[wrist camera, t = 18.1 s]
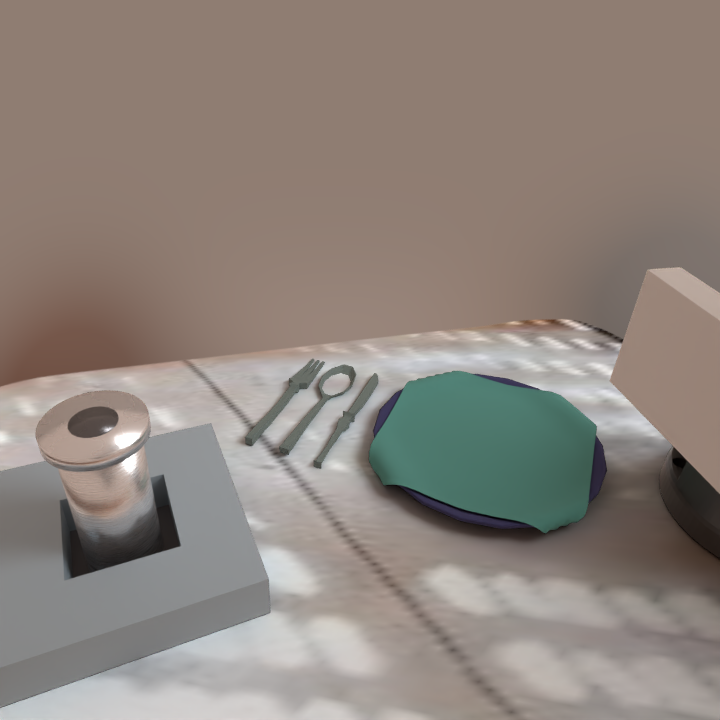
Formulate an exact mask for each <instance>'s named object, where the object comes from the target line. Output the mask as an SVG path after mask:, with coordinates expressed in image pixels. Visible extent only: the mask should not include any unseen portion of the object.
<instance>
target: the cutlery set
mask: <svg viewBox="0 0 720 720" xmlns="http://www.w3.org/2000/svg"><path fill="white" fill-rule="evenodd" d="M313 362H314V359H312V360H311V361H310V362H309V363H308V364H307V365H306V366H305V367H304V368H303V369H301V370H300V371H299V372H298V373H297V374H296V375H294V376H293V377H292V378H289V389H288V390H287V391H286V392H285V394H284V395H283V396H282V398H281V399H280V400H279V402H278V403H277V404H276V405H275V406H274V407H273V408H272V409H271V411H270V412H269V413H268V414H267V415H266V416H265V417H264V418H263V419H262V420H261V421H260V422H259V423H258V424H257V425H256V426H255V427H254V428H253V429H252V430H251V431H250V432H249V433H248V435H247V436H246V437H245V440H246V444H248V445H252V446H253V444H254V443H255V442H256V440H257V439H258V438H259V437H260V435H261V434H262V433H263V432H264V430H265V429H266V428H267V427H268V426H269V425H270V424H271V423H272V422H273V421H274V419H275V418H276V417H277V416H278V415H279V413H280V412H281V411H282V410H283V409H284V407H285V406H286V405H287V403H288V402H289V400H290V399H291V398H292V396H293V395H294V394H295V392H296V393H298V392H299V389H307V388H308V387H309V385H310V383H311V382H312V381H313V380H314V378H315V377H316V375H317V374H318V372H319V371H320V369H321V368H322V366H323V365H324V363H325V362H322V363H321V364H320V365H319V366H318V367H317V368H316V369H315V367H316V366H317V365H318V363H319V360H317V361H316V362H315V364H314V365H313V366H312V367H311V368H310V369H309V367H310V366H311V364H312V363H313ZM314 369H315V370H314ZM313 370H314V371H313ZM339 373H343V374H346V375H348V376H349V378H350V380H351V383H350V386H349V387H348V388H347V389H346V390H345V391H344V392H341V393H338V394H335V395H332V396H330V395H326V394H324V392H323V390H322V386H323V383H324V381H325V380H327V379H328V378H329V377H330V376H332V375H335V374H339ZM355 376H356V373H355V371H354V368H353V367H352V366H347V365H341V366H338V367H335V368H332V369H331V370H329V371H328V372H327V373H326V374H324V375H323V376H322V378H321V380H320V383H319V385H318V386H319V389H320V391H321V394H322V399H321V400H320V401H319V402H318V403H317V405H316V406H315V407H314V408H313V409H312V410H311V411H310V412H309V413H308V414H307V415H306V416H305V417H304V419H303V420H302V421H301V422H300V423H299V425H298V426H297V427H296V428H295V429H294V431H293V432H292V433H291V434H290V435H289V436H288V438H287V439H286V440H285V441H284V443H283V444H282V445H281V446H280V447H279V448H280V452H281V453H284V454H287V455H289V452H290V451H291V450H292V448H293V447H294V445H295V444H296V442H297V441H298V439H299V438H300V436H301V435H302V434H303V432H304V431H305V429H306V428H307V426H308V425H309V423H310V422H311V421H312V419H313V418H314V417H315V416H316V414H317V413H318V412H319V410H320V409H321V407H322V406H323V405H324V404H325V402H326V401H327V400H329V399H331V398H332V397H336V396H339V395H342V394H344V393H345V392H346V391H347V390H349V389H350V388H351V387H352V385H353V382H354V379H355ZM377 384H378V376H377V374H376V373H374V375H373V376H372V378H371V379H370V381H369V382H368V384H367V385H366V387H365V388H364V390H363V391H362V393H361V394H360V396H359V397H358V398H357V400H356V401H355V403H354V404H353V406H352V407H351V409H350V410H349V412H345V411H343V418H341V419H339V421H338V425H337V429H336V431H335V432H334V434H333V435H332V437H331V439H330V441H329V443H328V444H327V446H326V448H325V449H324V450H323V452H322V453H321V454H320V456H319V457H318V458H317V460H314V467H317V468H320V469H321V464H322V462H323V460H324V458H325V457H326V455H327V453H328V452H329V450H330V448H331V447H332V446H333V444H334V443H335V442H336V440H337V439H338V437H339V436H340V434H341V433H342V432H343V431H345V430H346V429H348V428H349V423H350V422H354V419H355V415H356V414H357V413H358V412H359V410H360V409H361V408H362V407H363V406H364V405H365V403H366V402H367V400H368V399H369V397H370V396H371V394H372V393H373V391H374V389H375V388H376V386H377ZM596 430H597V426H596V425H595V424H594V423H593V422H592V421H591V420H589V419H588V418H587V417H586V416H585V415H584V414H583V413H581V412H580V411H579V410H578V409H577V408H576V407H574V406H573V405H572V404H571V403H570V402H568V401H567V400H566V399H564V398H563V397H562V396H561V395H558V394H556V393H553V392H549V391H542V390H540V389H538V388H535V387H531V386H528V385H525V384H522V383H519V382H516V381H513V380H510V379H507V378H500V377H493V376H487V375H480V374H470V373H467V372H462V371H452V372H447V373H443V374H437V375H435V376H429V377H426V378H421V379H417V380H415V381H409V382H408V383H407V384H406V385H405V387H404V389H402V390H400V391H398V392H396V393H395V394H394V395H393V396H392V397H391V398H390V400H389V401H388V402H387V403H386V404H385V405H384V406H383V407H382V408H381V409H380V411H379V414H378V417H377V421H376V424H375V427H374V430H373V432H374V440H373V442H372V444H371V447H370V451H369V462H370V464H371V466H372V468H373V470H374V471H375V472H376V474H377V475H378V476H379V478H380V479H381V481H382V483H383V485H399V486H400V487H401V488H402V489H404V490H405V491H406V492H407V493H409V494H410V495H411V496H412V497H414V498H415V499H416V500H417V501H419V502H420V503H421V504H423V505H425V506H427V507H429V508H432V509H434V510H436V511H439V512H441V513H443V514H445V515H448V516H450V517H452V518H454V519H457V520H459V521H463V522H468V523H474V524H479V525H484V526H489V527H495V528H500V529H508V528H527V527H536V528H537V529H539V530H541V531H542V532H544V533H545V534H546V533H547V532H548V531H549V530H556V529H557V528H559V527H560V526H567V525H568V524H569V523H575V522H578V521H579V520H581V519H582V518H583V517H584V516H585V513H586V511H587V508H588V503H590V502H591V501H592V500H593V499H594V498H595V497H596V496H597V495H598V494H599V491H600V488H601V485H602V482H603V480H604V477H605V474H606V471H607V468H606V462H605V456H604V450H603V446H602V444H601V442H600V441H599V439H598V438H597V436H596Z"/></svg>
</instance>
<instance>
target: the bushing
mask: <svg viewBox="0 0 720 720" xmlns="http://www.w3.org/2000/svg"><path fill="white" fill-rule="evenodd" d="M150 432H151V425H150V419H149V413H148V409H147V407H146V405H145V404H144V403H143V401H142V400H140V399H139V398H137V397H136V396H134V395H131V394H129V393H125V392H120V391H94V392H88V393H84V394H80V395H77V396H74V397H72V398H69V399H67V400H65V401H63V402H61V403H59V404H57V405H56V406H54V407H53V408H52V409H50V410H49V411H48V412H47V413H46V414H45V415H44V416H43V417H42V419H41V420H40V421H39V423H38V425H37V428H36V440H37V443H38V446H39V449H40V452H41V455H42V457H43V458H44V460H46V461H47V462H48V463H49V464H50V465H52V466H54V467H56V468H58V471H59V474H60V477H61V480H62V484H63V487H64V490H65V493H66V497H67V500H68V503H69V506H70V509H71V513H72V516H73V519H74V522H75V526H76V529H77V532H78V535H79V539H80V542H81V545H82V548H83V552H84V555H85V558H86V561H87V564H88V568H89V570H90V573H92V572H95V571H99V570H102V569H105V568H109V567H112V566H115V565H119V564H122V563H126V562H129V561H132V560H136V559H139V558H143V557H146V556H149V555H153V554H156V553H160V552H163V550H164V546H163V540H162V535H161V530H160V525H159V519H158V514H157V509H156V504H155V499H154V494H153V489H152V483H151V478H150V473H149V468H148V463H147V458H146V453H145V448H144V444H145V443H146V441H147V440H148V438H149V435H150Z"/></svg>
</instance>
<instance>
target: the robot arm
mask: <svg viewBox="0 0 720 720" xmlns="http://www.w3.org/2000/svg"><path fill="white" fill-rule="evenodd" d="M610 382H611V383H612V384H613V385H614V386H615V387H616V388H617V389H618V390H619V391H620V392H621V393H622V394H623V395H624V396H625V397H626V398H627V399H628V400H629V401H630V402H631V403H632V404H633V405H634V406H635V407H636V408H637V409H638V410H639V412H640V413H641V414H642V415H643V416H644V417H645V418H646V419H647V420H648V421H649V422H650V423H651V424H652V425H653V426H654V427H655V428H656V429H657V430H658V431H659V432H660V433H661V434H662V435H663V436H664V437H665V438H666V439H667V440H668V441H669V442H670V443H671V444H672V445H673V446H672V448H671V449H670V451H669V453H668V455H667V457H666V459H665V462H664V464H663V466H662V468H661V471H660V475H659V486H660V491H661V495H662V497H663V500H664V502H665V504H666V506H667V508H668V510H669V511H670V513H671V514H672V516H673V517H674V518H675V520H676V521H677V522H678V523H679V524H680V526H681V527H682V528H683V529H684V530H685V531H686V532H687V533H688V534H689V535H690V536H691V537H692V538H693V539H695V540H696V541H697V542H698V543H699V544H700V545H702V546H703V547H704V548H706V549H707V550H708V551H710V552H711V553H712V554H714V555H715V556H717V557H718V558H720V293H719V292H717V291H715V290H714V289H712V288H711V287H709V286H708V285H706V284H705V283H703V282H702V281H700V280H699V279H697V278H696V277H694V276H693V275H691V274H689V273H688V272H687V271H685V270H684V269H682V268H681V267H677V268H663V269H649V270H647V273H646V276H645V279H644V282H643V285H642V287H641V290H640V293H639V296H638V299H637V302H636V305H635V308H634V311H633V314H632V317H631V320H630V323H629V326H628V329H627V331H626V334H625V338H624V340H623V343H622V346H621V349H620V352H619V355H618V358H617V361H616V364H615V367H614V370H613V373H612V375H611V378H610Z"/></svg>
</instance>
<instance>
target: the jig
mask: <svg viewBox="0 0 720 720" xmlns="http://www.w3.org/2000/svg"><path fill="white" fill-rule="evenodd" d="M144 448H145V453H146V458H147V463H148V468H149V473H150V478H151V483H152V489H153V494H154V499H155V504H156V509H157V514H158V519H159V525H160V530H161V535H162V540H163V546H164V550H163V552H160V553H156V554H153V555H149V556H146V557H143V558H139V559H136V560H132V561H129V562H126V563H122V564H119V565H115V566H112V567H109V568H105V569H102V570H99V571H95V572H92V573H90V570H89V568H88V564H87V561H86V558H85V555H84V552H83V548H82V545H81V542H80V539H79V535H78V532H77V529H76V526H75V522H74V519H73V516H72V513H71V509H70V506H69V503H68V500H67V497H66V493H65V490H64V487H63V484H62V480H61V477H60V474H59V471H58V468H56V467H54V466H52V465H50V464H49V463H48V462H47V461H43V462H39V463H34V464H30V465H26V466H21V467H17V468H12V469H8V470H4V471H0V707H3V706H6V705H9V704H12V703H15V702H18V701H20V700H23V699H26V698H29V697H32V696H35V695H37V694H40V693H43V692H46V691H49V690H52V689H55V688H57V687H60V686H63V685H66V684H69V683H72V682H74V681H77V680H80V679H83V678H86V677H89V676H92V675H94V674H97V673H100V672H103V671H106V670H109V669H111V668H114V667H117V666H120V665H123V664H126V663H128V662H131V661H134V660H137V659H140V658H143V657H146V656H148V655H151V654H154V653H157V652H160V651H163V650H165V649H168V648H171V647H174V646H177V645H180V644H183V643H185V642H188V641H191V640H194V639H197V638H200V637H202V636H205V635H208V634H211V633H214V632H217V631H220V630H222V629H225V628H228V627H231V626H234V625H237V624H239V623H242V622H245V621H248V620H251V619H254V618H257V617H259V616H262V615H265V614H268V613H270V595H269V579H268V576H267V573H266V571H265V568H264V565H263V563H262V560H261V557H260V554H259V552H258V549H257V546H256V544H255V541H254V538H253V535H252V533H251V530H250V527H249V525H248V522H247V519H246V516H245V514H244V511H243V508H242V506H241V503H240V500H239V498H238V495H237V492H236V489H235V487H234V484H233V481H232V479H231V476H230V473H229V470H228V468H227V465H226V462H225V460H224V457H223V454H222V451H221V449H220V446H219V443H218V441H217V438H216V435H215V433H214V430H213V427H212V424H211V423H210V424H205V425H201V426H197V427H192V428H188V429H184V430H179V431H175V432H170V433H166V434H162V435H157V436H153V437H149V438H148V440H147V441H146V443H145V444H144Z"/></svg>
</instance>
